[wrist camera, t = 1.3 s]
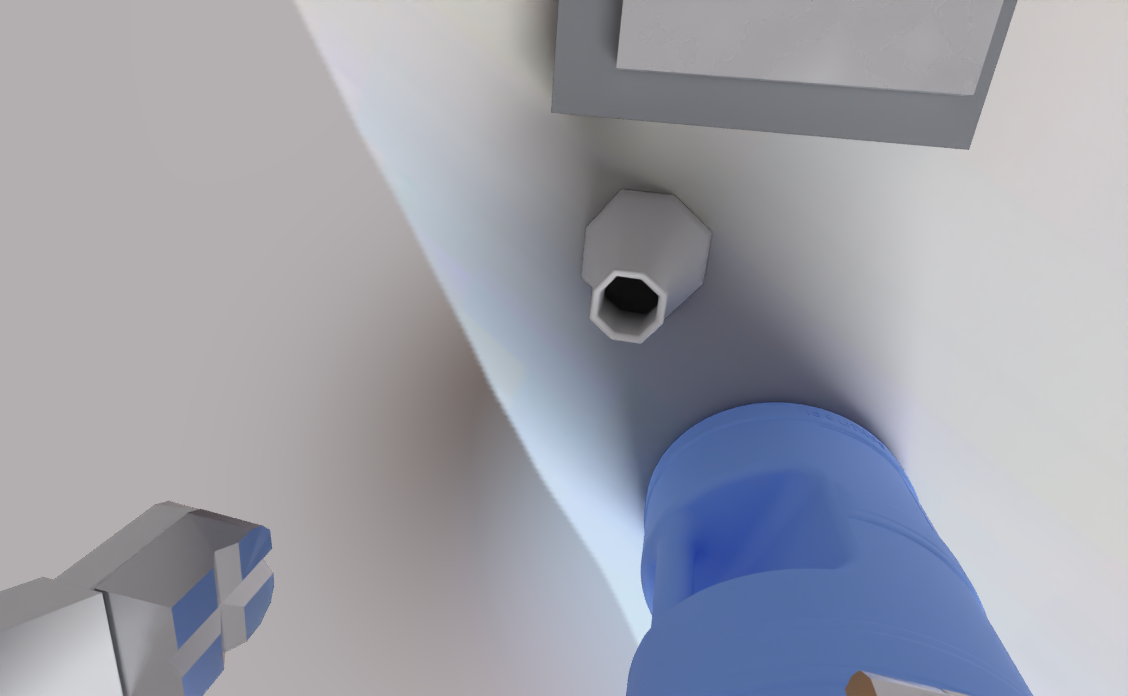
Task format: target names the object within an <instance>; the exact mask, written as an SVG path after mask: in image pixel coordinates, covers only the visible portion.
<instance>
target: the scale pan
mask: <svg viewBox="0 0 1128 696" xmlns="http://www.w3.org/2000/svg"><path fill="white" fill-rule="evenodd" d="M1003 1H1004V0H623V7H622V17H621V26H620V36H619V46H618V56H617V65H616V68H617V69H619V70H630V71H643V72H656V73H669V74H683V75H696V76H709V77H722V78H735V79H748V80H762V81H775V82H788V83H801V84H814V85H827V86H841V87H854V88H867V89H880V90H893V91H907V92H920V93H933V94H946V95H959V96H966V95H974V93H975V89H976V86H977V83H978V80H979V77H980V74H981V71H982V67H983V64H984V61H985V58H986V55H987V52H988V49H989V45H990V42H991V39H992V36H993V33H994V30H995V26H996V23H997V20H998V17H999V14H1000V11H1001V8H1002V4H1003Z"/></svg>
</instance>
